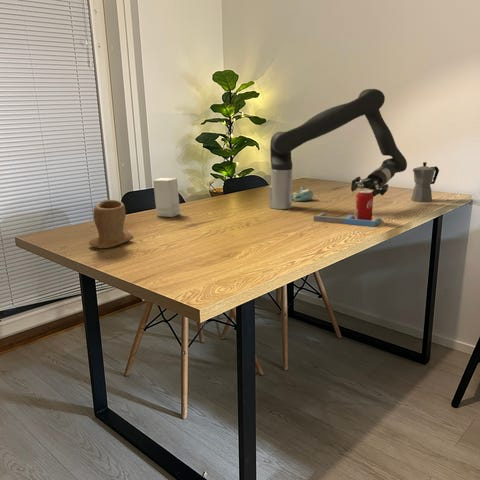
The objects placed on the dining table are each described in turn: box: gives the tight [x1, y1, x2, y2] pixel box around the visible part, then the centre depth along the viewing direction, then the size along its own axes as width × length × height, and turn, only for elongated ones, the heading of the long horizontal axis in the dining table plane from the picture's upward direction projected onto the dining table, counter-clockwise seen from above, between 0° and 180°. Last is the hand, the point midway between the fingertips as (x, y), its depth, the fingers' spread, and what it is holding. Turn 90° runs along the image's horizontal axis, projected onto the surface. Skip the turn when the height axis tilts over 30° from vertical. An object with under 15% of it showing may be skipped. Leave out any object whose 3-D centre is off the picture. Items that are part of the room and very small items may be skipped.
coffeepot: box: [410, 161, 440, 203], centre depth 220 cm, size 15×9×18 cm, turn 113°
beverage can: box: [354, 189, 374, 221], centre depth 181 cm, size 6×6×12 cm
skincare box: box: [152, 177, 181, 218], centre depth 197 cm, size 8×7×16 cm
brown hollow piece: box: [88, 199, 134, 249], centre depth 156 cm, size 15×12×15 cm
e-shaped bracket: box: [313, 211, 382, 228], centre depth 185 cm, size 24×11×2 cm, turn 62°
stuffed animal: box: [292, 186, 314, 203], centre depth 227 cm, size 11×7×12 cm
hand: (361, 192), depth 191 cm, fingers open, 8 cm apart
